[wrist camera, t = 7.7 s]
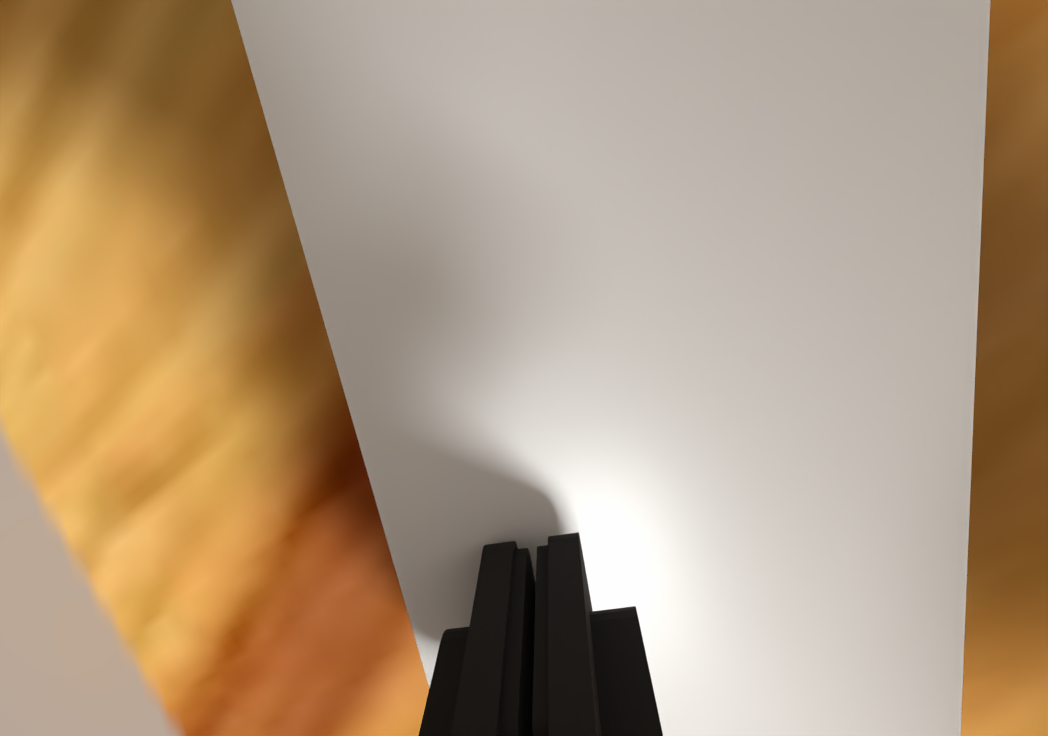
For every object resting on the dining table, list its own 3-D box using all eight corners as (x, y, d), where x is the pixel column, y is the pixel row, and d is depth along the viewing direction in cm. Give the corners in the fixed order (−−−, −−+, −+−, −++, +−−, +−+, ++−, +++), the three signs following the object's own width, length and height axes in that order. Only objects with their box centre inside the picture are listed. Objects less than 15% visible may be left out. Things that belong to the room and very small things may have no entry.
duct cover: (930, 784, 16) (956, 811, 16) (518, 985, 14) (528, 1029, 13) (950, -171, 10) (998, -202, 9) (203, -118, 8) (186, -154, 7)
